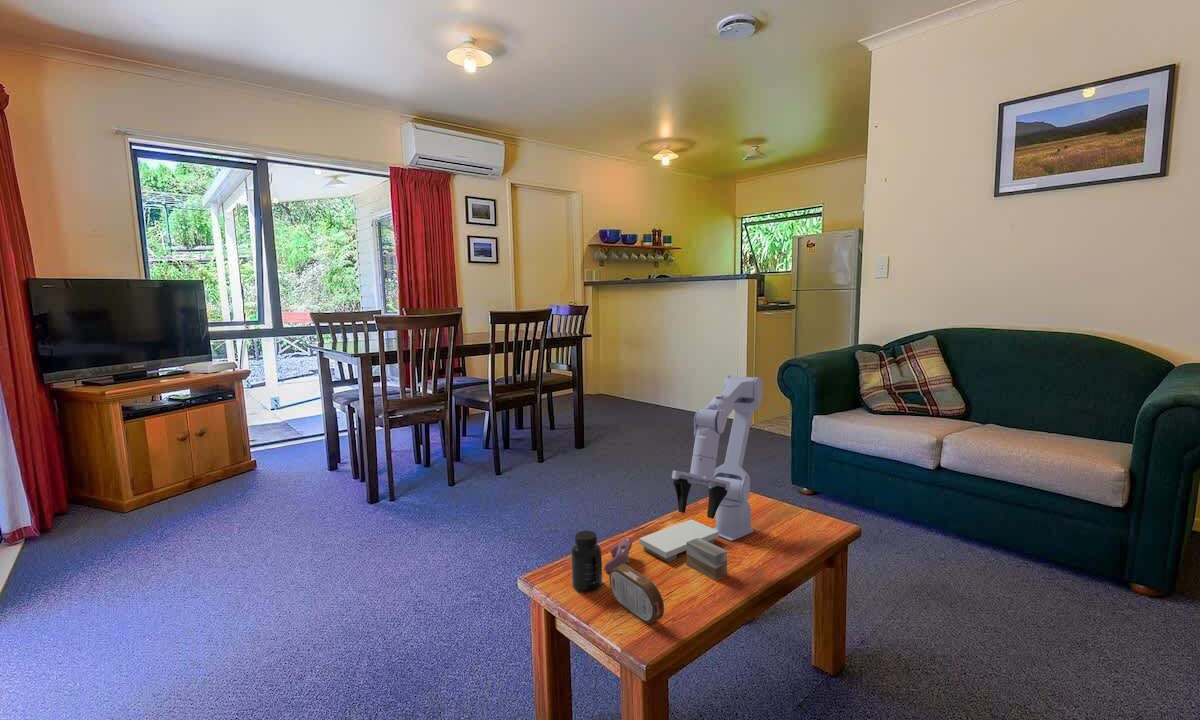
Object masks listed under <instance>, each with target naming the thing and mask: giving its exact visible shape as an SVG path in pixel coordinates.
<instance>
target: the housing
mask: <svg viewBox="0 0 1200 720" xmlns="http://www.w3.org/2000/svg"><path fill="white" fill-rule="evenodd" d="M686 567H688V568H691V569H693V570H695V571H696V572H698V573H699V574H701V575H703V576H705V577H707V578H709V579H711V580H713V581H718V580H720V579H723V578H725V577H726V576H728V550H726V549H724V548H722V547H719V546H717V545H715V544H714V543H713V544H711V543H709V542H707V541H705V540H702V539H700V538H696V539H693V540H691V541H688V542H687V550H686Z"/></svg>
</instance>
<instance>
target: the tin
mask: <svg viewBox="0 0 1200 720" xmlns="http://www.w3.org/2000/svg"><path fill="white" fill-rule="evenodd" d="M609 586H610V590H611V593H612V595H613V597H614V599H615V601H616V602H617V603H618V604H619V605H620V606H622V608H624V609H625V610H627V612H629V613H631V614H632V615H633V616H635V617H636V618H637V619H638V620H640V621H641V622H642V623H644V624H647V625H649V624H652V623H654V622H656V621H657V620H661V619H662V617H663V616H664V614H665V613H664V612H665V605H664V600H663V597H662V594H661V592H660V590H659V589H658V587H657V586H656V584H655V583H654V582H653V581H652V580H651V579H649V578H647V577H646V576H645V575H643V574H642V573H640V572H639V571H636V569H634V568H633V567H631V566H629V565H628V564H627V563H624V564H621V565H619V566H618V567H616V568H614V569H612V570H611V571H610V572H609Z"/></svg>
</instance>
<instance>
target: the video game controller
mask: <svg viewBox="0 0 1200 720" xmlns="http://www.w3.org/2000/svg"><path fill="white" fill-rule="evenodd" d="M632 544H633V540H631V539H629V538H626V537H624V538H622V539H621V540H620V541H619V542H618V543H617V544H615V545H614V546H612V547H611V549H610V554H611V555H612V556H614V557H612V559H610V560H609V561H608V562H606V564H605V565H604V567H603V568H604V571H605V572H606V573H610V571H611V570H612V569H614V568H616V567H618V566H619V565H621V564H628V563H630V558H629V555H630V552H629V551H630V550H631V548H632Z"/></svg>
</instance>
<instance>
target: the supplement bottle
mask: <svg viewBox="0 0 1200 720" xmlns="http://www.w3.org/2000/svg"><path fill="white" fill-rule="evenodd" d="M574 537H575V538H574V539H575V540H574V545H573V546H572V548H571V549H570V550H571V553H570V554H571V555H570V556H571V557H570V560H571V583H572V587H573V588H574V590H575V591H577V592H579V591H580V592H579V593H584V594H588V592H589V593H593V592H596V591H598V590H599V589H601V587H602V585H603V565H602V564H603V561H602V558H603V557H602V556H603V555H602V547H601V545H599V544H598V539H597V533H596V532H595V531H592V530H580V531H578V532H577V533H576V534H575V535H574Z"/></svg>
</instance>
